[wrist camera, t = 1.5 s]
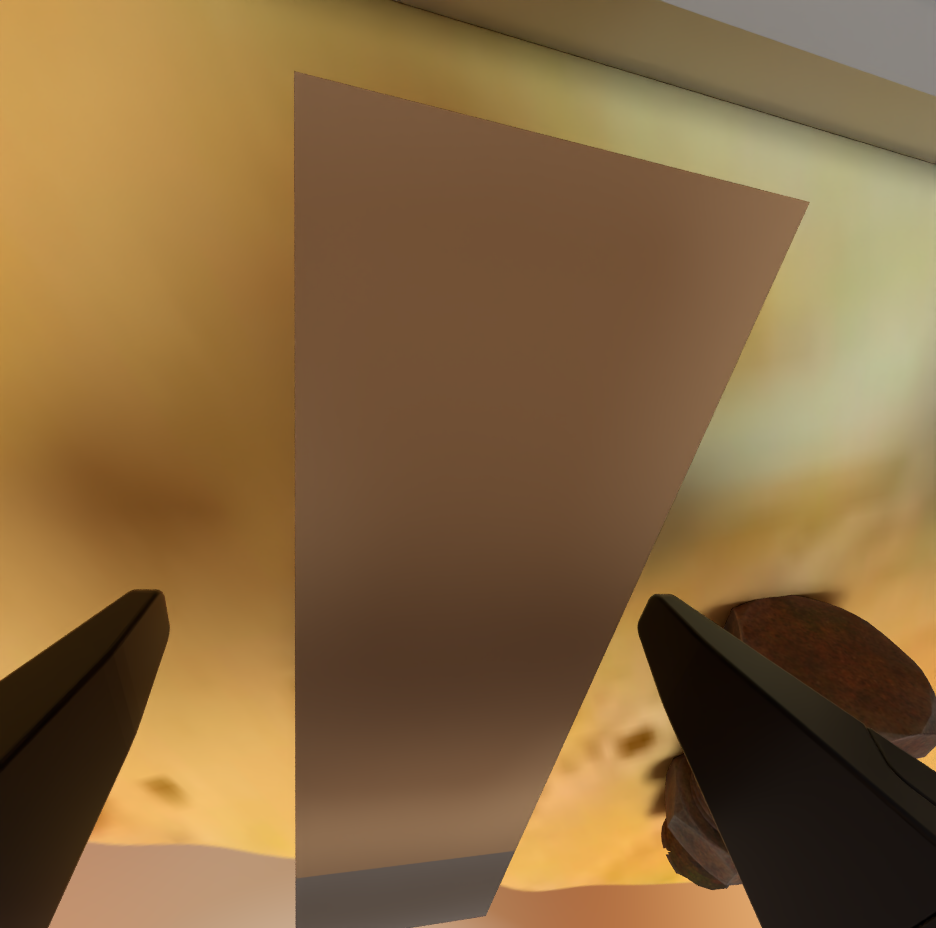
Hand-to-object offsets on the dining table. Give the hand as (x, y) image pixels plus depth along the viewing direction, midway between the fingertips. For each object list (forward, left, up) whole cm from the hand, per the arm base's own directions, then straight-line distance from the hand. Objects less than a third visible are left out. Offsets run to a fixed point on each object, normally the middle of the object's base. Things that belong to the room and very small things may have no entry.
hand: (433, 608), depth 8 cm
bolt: (-14, +11, -4) cm, 18 cm away
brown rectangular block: (0, 0, -4) cm, 4 cm away
